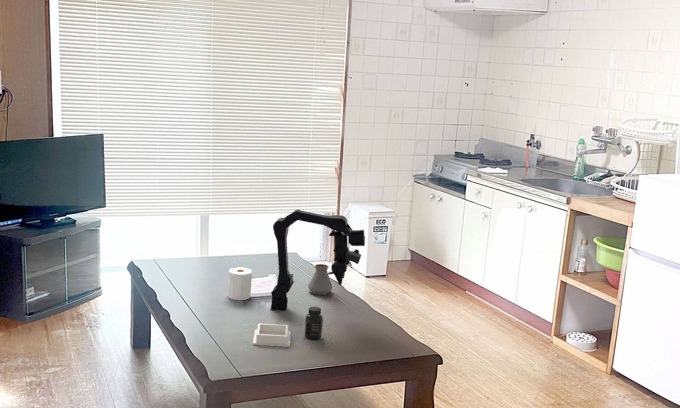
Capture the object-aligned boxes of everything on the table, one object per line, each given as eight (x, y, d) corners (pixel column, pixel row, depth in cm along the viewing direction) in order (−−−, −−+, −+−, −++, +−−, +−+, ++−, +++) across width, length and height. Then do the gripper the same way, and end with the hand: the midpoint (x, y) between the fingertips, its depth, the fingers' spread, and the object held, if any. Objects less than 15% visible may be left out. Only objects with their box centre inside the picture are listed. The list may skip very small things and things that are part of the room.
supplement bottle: (324, 336, 290) (326, 307, 288) (318, 342, 284) (320, 312, 281) (308, 332, 292) (310, 304, 290) (301, 338, 286) (303, 309, 283)
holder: (252, 344, 276) (253, 335, 275) (254, 330, 290) (255, 322, 289) (289, 346, 277) (290, 337, 276) (290, 332, 291) (290, 324, 290)
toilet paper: (235, 301, 320) (237, 275, 318) (223, 294, 328) (224, 269, 325) (255, 298, 327) (256, 272, 324) (242, 291, 334) (243, 266, 332)
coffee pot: (303, 289, 344) (305, 258, 341) (325, 287, 349) (327, 257, 346) (323, 304, 326) (325, 272, 323) (346, 302, 331) (348, 270, 328)
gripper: (357, 251, 298) (358, 288, 301) (361, 240, 316) (362, 275, 319) (330, 251, 299) (331, 287, 302) (336, 240, 318) (336, 275, 321)
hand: (341, 281), depth 311 cm, fingers open, 9 cm apart
